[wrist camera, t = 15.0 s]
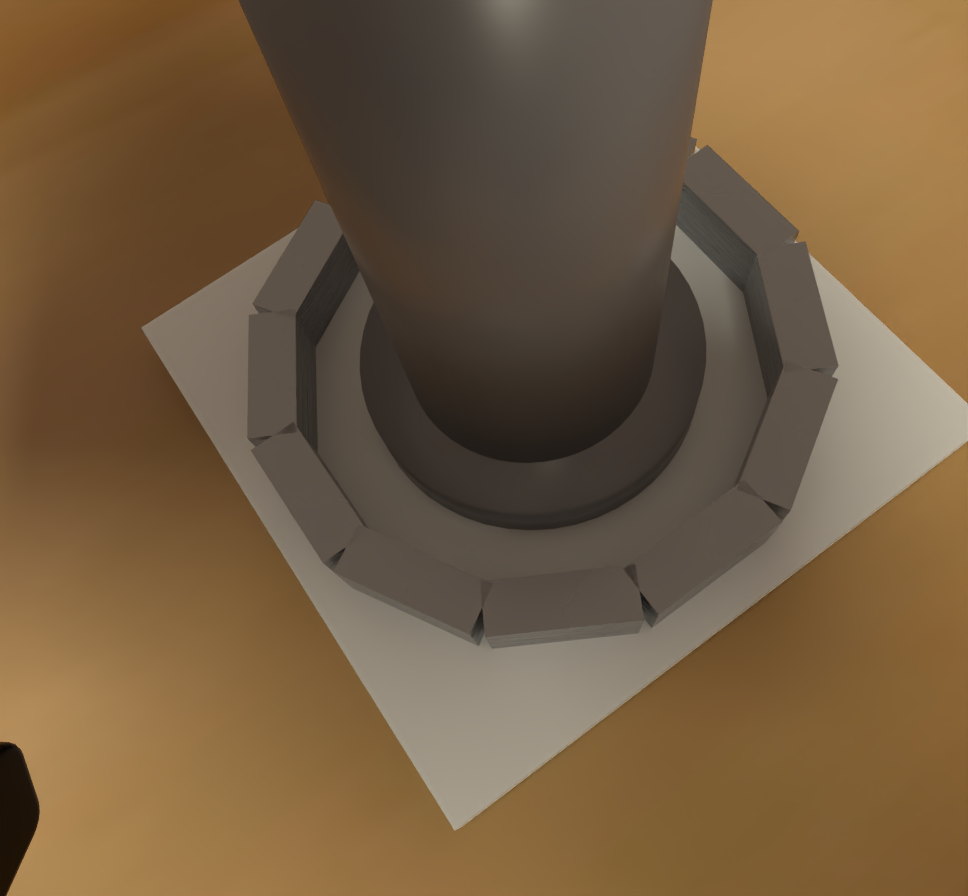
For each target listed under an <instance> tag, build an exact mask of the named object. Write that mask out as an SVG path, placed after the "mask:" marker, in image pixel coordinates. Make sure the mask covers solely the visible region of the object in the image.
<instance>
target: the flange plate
mask: <svg viewBox="0 0 968 896" xmlns="http://www.w3.org/2000/svg"><path fill="white" fill-rule="evenodd" d="M696 141H697V139H695V138H691V137H690V142H689V148H688V155H687V161H686V167H685V173H684V179H683V185H682V192H681V198H680V204H679V210H678V216H677V222H676V229H675V235H674V241H673V247H672V253H671V260H672V261H673V262H674V263H675V265H676V266H677V267H678V268H679V270H680V271H681V273H682V274H683V276H684V277H685V279H686V281H687V282H688V284H689V285H690V288H691V290H692V292H693V294H694V296H695V298H696V301H697V303H698V306H699V309H700V313H701V316H702V319H703V323H704V330H705V337H706V367H705V374H704V380H703V385H702V389H701V392H700V396H699V399H698V402H697V406H696V409H695V412H694V415H693V418H692V422H691V425H690V428H689V430H688V432H687V434H686V436H685V439H684V441H683V443H682V445H681V447H680V448H679V450H678V451H677V453H676V454H675V456H674V457H673V459H672V460H671V462H670V463H669V465H668V466H667V467H666V468H665V469H664V470H663V472H662V473H661V474H660V475H659V476H658V477H657V478H656V479H655V480H654V482H652V483H651V484H650V485H649V486H648V487H646V488H645V489H644V490H643V491H642V492H641V493H639V494H638V495H637V496H636V497H634V498H632V499H631V500H629V501H628V502H626V503H625V504H623V505H621V506H620V507H618V508H616V509H614V510H612V511H610V512H608V513H606V514H604V515H602V516H599V517H597V518H594V519H591V520H588V521H585V522H582V523H579V524H576V525H571V526H565V527H560V528H555V529H542V530H520V529H507V528H501V527H496V526H491V525H486V524H483V523H480V522H477V521H474V520H471V519H468V518H465V517H463V516H461V515H459V514H457V513H455V512H453V511H451V510H449V509H447V508H445V507H443V506H442V505H440V504H439V503H437V502H436V501H434V500H433V499H431V498H430V497H428V496H427V495H426V494H425V493H424V492H423V491H422V490H420V489H419V488H418V487H417V486H416V485H415V484H414V483H413V482H412V481H411V480H410V479H409V478H408V477H407V475H406V474H405V473H404V472H403V471H402V470H401V468H400V467H399V466H398V464H397V463H396V461H395V459H394V458H393V456H392V455H391V453H390V451H389V450H388V448H387V446H386V445H385V443H384V441H383V440H382V438H381V436H380V435H379V433H378V432H377V430H376V428H375V426H374V424H373V421H372V419H371V417H370V414H369V412H368V410H367V406H366V403H365V399H364V395H363V392H362V386H361V377H360V348H361V342H362V336H363V330H364V327H365V324H366V321H367V317H368V314H369V311H370V309H371V307H372V305H373V303H374V302H373V299H372V297H371V295H370V293H369V290H368V288H367V286H366V284H365V281H364V279H363V277H362V275H361V273H360V270H359V268H358V266H357V264H356V261H355V259H354V257H353V255H352V252H351V250H350V248H349V246H348V243H347V241H346V239H345V237H344V235H343V232H342V230H341V228H340V226H339V223H338V221H337V219H336V217H335V214H334V212H333V210H332V208H331V205H330V203H329V201H328V203H329V204H326V203H323V202H320V201H317V200H315V201H314V203H313V204H312V206H311V208H310V209H309V211H308V212H307V214H306V216H305V217H304V219H303V221H302V222H301V224H300V226H299V227H298V228H297V229H296V230H294V231H292V232H291V233H289V234H288V235H286V236H285V237H283V238H281V239H280V240H278V241H277V242H275V243H274V244H272V245H270V246H269V247H267V248H266V249H264V250H262V251H261V252H259V253H258V254H256V255H255V256H253V257H251V258H250V259H248V260H247V261H245V262H244V263H242V264H240V265H239V266H237V267H236V268H234V269H233V270H231V271H229V272H228V273H226V274H225V275H223V276H221V277H220V278H218V279H217V280H215V281H214V282H212V283H210V284H209V285H207V286H206V287H204V288H203V289H201V290H199V291H198V292H196V293H195V294H193V295H192V296H190V297H188V298H187V299H185V300H184V301H182V302H181V303H179V304H177V305H176V306H174V307H173V308H171V309H169V310H168V311H166V312H165V313H163V314H162V315H160V316H158V317H157V318H155V319H154V320H152V321H151V322H149V323H147V324H146V325H144V326H143V327H141V329H142V330H143V332H144V333H145V335H146V337H147V338H148V340H149V341H150V343H151V345H152V346H153V348H154V350H155V351H156V353H157V354H158V356H159V358H160V359H161V361H162V362H163V364H164V366H165V367H166V369H167V370H168V372H169V374H170V375H171V377H172V378H173V380H174V382H175V383H176V385H177V386H178V388H179V390H180V391H181V393H182V394H183V396H184V398H185V399H186V401H187V402H188V404H189V406H190V407H191V409H192V410H193V412H194V414H195V415H196V417H197V418H198V420H199V422H200V423H201V425H202V426H203V428H204V430H205V431H206V433H207V434H208V436H209V438H210V439H211V441H212V442H213V444H214V446H215V447H216V449H217V450H218V452H219V454H220V455H221V457H222V458H223V460H224V462H225V463H226V465H227V467H228V468H229V470H230V471H231V473H232V475H233V476H234V478H235V479H236V481H237V483H238V484H239V486H240V487H241V489H242V491H243V492H244V494H245V495H246V497H247V499H248V500H249V502H250V503H251V505H252V507H253V508H254V510H255V511H256V513H257V515H258V516H259V518H260V519H261V521H262V523H263V524H264V526H265V527H266V529H267V531H268V532H269V534H270V535H271V537H272V539H273V540H274V542H275V543H276V545H277V547H278V548H279V550H280V551H281V553H282V555H283V556H284V558H285V559H286V561H287V563H288V564H289V566H290V567H291V569H292V571H293V572H294V574H295V575H296V577H297V579H298V580H299V582H300V584H301V585H302V587H303V588H304V590H305V592H306V593H307V595H308V596H309V598H310V600H311V601H312V603H313V604H314V606H315V608H316V609H317V611H318V612H319V614H320V616H321V617H322V619H323V620H324V622H325V624H326V625H327V627H328V628H329V630H330V632H331V633H332V635H333V636H334V638H335V640H336V641H337V643H338V644H339V646H340V648H341V649H342V651H343V652H344V654H345V656H346V657H347V659H348V660H349V662H350V664H351V665H352V667H353V668H354V670H355V672H356V673H357V675H358V676H359V678H360V680H361V681H362V683H363V684H364V686H365V688H366V689H367V691H368V692H369V694H370V696H371V697H372V699H373V701H374V702H375V704H376V705H377V707H378V709H379V710H380V712H381V713H382V715H383V717H384V718H385V720H386V721H387V723H388V725H389V726H390V728H391V729H392V731H393V733H394V734H395V736H396V737H397V739H398V741H399V742H400V744H401V745H402V747H403V749H404V750H405V752H406V753H407V755H408V757H409V758H410V760H411V761H412V763H413V765H414V766H415V768H416V769H417V771H418V773H419V774H420V776H421V777H422V779H423V781H424V782H425V784H426V785H427V787H428V789H429V790H430V792H431V793H432V795H433V797H434V798H435V800H436V801H437V803H438V805H439V806H440V808H441V809H442V811H443V813H444V814H445V816H446V818H447V819H448V821H449V822H450V824H451V826H452V827H453V829H454V830H457V829H459V828H461V827H463V826H464V825H465V824H467V823H468V822H469V821H471V820H472V819H473V818H474V817H476V816H477V815H478V814H480V813H481V812H482V811H484V810H485V809H486V808H488V807H489V806H490V805H492V804H493V803H494V802H495V801H497V800H498V799H499V798H501V797H502V796H503V795H505V794H506V793H507V792H509V791H510V790H511V789H513V788H514V787H515V786H516V785H518V784H519V783H520V782H522V781H523V780H524V779H526V778H527V777H528V776H530V775H531V774H532V773H534V772H535V771H536V770H537V769H539V768H540V767H541V766H543V765H544V764H545V763H547V762H548V761H549V760H551V759H552V758H553V757H554V756H556V755H557V754H558V753H560V752H561V751H562V750H564V749H565V748H566V747H568V746H569V745H570V744H572V743H573V742H574V741H575V740H577V739H578V738H579V737H581V736H582V735H583V734H585V733H586V732H587V731H589V730H590V729H591V728H593V727H594V726H595V725H596V724H598V723H599V722H600V721H602V720H603V719H604V718H606V717H607V716H608V715H610V714H611V713H612V712H614V711H615V710H616V709H617V708H619V707H620V706H621V705H623V704H624V703H625V702H627V701H628V700H629V699H631V698H632V697H633V696H635V695H636V694H637V693H638V692H640V691H641V690H642V689H644V688H645V687H646V686H648V685H649V684H650V683H652V682H653V681H654V680H656V679H657V678H658V677H659V676H661V675H662V674H663V673H665V672H666V671H667V670H669V669H670V668H671V667H673V666H674V665H675V664H677V663H678V662H679V661H680V660H682V659H683V658H684V657H686V656H687V655H688V654H690V653H691V652H692V651H694V650H695V649H696V648H697V647H699V646H700V645H701V644H703V643H704V642H705V641H707V640H708V639H709V638H711V637H712V636H713V635H715V634H716V633H717V632H718V631H720V630H721V629H722V628H724V627H725V626H726V625H728V624H729V623H730V622H732V621H733V620H734V619H736V618H737V617H738V616H739V615H741V614H742V613H743V612H745V611H746V610H747V609H749V608H750V607H751V606H753V605H754V604H755V603H757V602H758V601H759V600H760V599H762V598H763V597H764V596H766V595H767V594H768V593H770V592H771V591H772V590H774V589H775V588H776V587H778V586H779V585H780V584H781V583H783V582H784V581H785V580H787V579H788V578H789V577H791V576H792V575H793V574H795V573H796V572H797V571H799V570H800V569H801V568H802V567H804V566H805V565H806V564H808V563H809V562H810V561H812V560H813V559H814V558H816V557H817V556H818V555H819V554H821V553H822V552H823V551H825V550H826V549H827V548H829V547H830V546H831V545H833V544H834V543H835V542H837V541H838V540H839V539H840V538H842V537H843V536H844V535H846V534H847V533H848V532H850V531H851V530H852V529H854V528H855V527H856V526H858V525H859V524H860V523H861V522H863V521H864V520H865V519H867V518H868V517H869V516H871V515H872V514H873V513H875V512H876V511H877V510H879V509H880V508H881V507H882V506H884V505H885V504H886V503H888V502H889V501H890V500H892V499H893V498H894V497H896V496H897V495H898V494H900V493H901V492H902V491H903V490H905V489H906V488H907V487H909V486H910V485H911V484H913V483H914V482H915V481H917V480H918V479H919V478H921V477H922V476H923V475H924V474H926V473H927V472H928V471H930V470H931V469H932V468H934V467H935V466H936V465H938V464H939V463H940V462H942V461H943V460H944V459H945V458H947V457H948V456H949V455H951V454H952V453H953V452H955V451H956V450H957V449H959V448H960V447H961V446H962V445H964V444H965V443H966V442H968V404H967V403H966V402H965V401H964V400H963V399H962V398H961V397H960V396H959V395H958V394H957V393H956V392H955V391H954V390H953V389H952V388H951V387H950V386H948V385H947V384H946V383H945V382H944V381H943V380H942V379H941V378H940V377H939V376H938V375H937V374H936V373H935V372H934V371H933V370H932V369H931V368H929V367H928V366H927V365H926V364H925V363H924V362H923V361H922V360H921V359H920V358H919V357H918V356H917V355H916V354H915V353H914V352H913V351H912V350H910V349H909V348H908V347H907V346H906V345H905V344H904V343H903V342H902V341H901V340H900V339H899V338H898V337H897V336H896V335H895V334H894V333H893V332H891V331H890V330H889V329H888V328H887V327H886V326H885V325H884V324H883V323H882V322H881V321H880V320H879V319H878V318H877V317H876V316H875V315H874V314H872V313H871V312H870V311H869V310H868V309H867V308H866V307H865V306H864V305H863V304H862V303H861V302H860V301H859V300H858V299H857V298H856V297H855V296H853V295H852V294H851V293H850V292H849V291H848V290H847V289H846V288H845V287H844V286H843V285H842V284H841V283H840V282H839V281H838V280H837V279H836V278H835V277H833V276H832V275H831V274H830V273H829V272H828V271H827V270H826V269H825V268H824V267H823V266H822V265H821V264H820V263H819V262H818V261H817V260H816V259H814V258H813V257H812V256H811V255H810V254H809V253H808V249H807V245H806V242H799V243H798V242H797V241H795V240H796V238H797V235H798V233H799V231H798V230H797V229H796V228H795V227H794V226H793V225H792V224H791V223H790V222H789V221H788V220H787V219H786V218H785V217H783V216H782V215H781V214H780V213H779V212H778V211H777V210H776V209H775V208H774V207H773V206H772V205H771V204H770V203H769V202H767V201H766V200H765V199H764V198H763V197H762V196H761V195H760V194H759V193H758V192H757V191H756V190H755V189H754V188H753V187H752V186H750V185H749V184H748V183H747V182H746V181H745V180H744V179H743V178H742V177H741V176H740V175H739V174H738V173H737V172H736V171H735V170H733V169H732V168H731V167H730V166H729V165H728V164H727V163H726V162H725V161H724V160H723V159H722V158H721V157H720V156H719V155H718V154H716V153H715V152H714V151H713V150H712V149H711V148H710V147H709V146H708V145H707V146H705V147H704V148H702V149H701V150H699V149H698V148H697V147H696ZM324 193H325V192H324ZM325 196H326V194H325ZM326 198H327V197H326ZM327 200H328V199H327Z"/></svg>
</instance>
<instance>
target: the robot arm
mask: <svg viewBox="0 0 968 896" xmlns="http://www.w3.org/2000/svg"><path fill="white" fill-rule="evenodd" d="M39 813H40V810H39V801H38V798H37V795H36V792H35V789H34V786H33V783H32V780H31V777H30V774H29V771H28V768H27V765H26V762H25V759H24V756H23V753H22V751H21V750H20V748H18V747H17V746H16V745H15V744H13V743H10V742H0V896H6V895H7V893H8V891H9V888H10V886H11V884H12V882H13V880H14V877H15V875H16V873H17V871H18V869H19V866H20V864H21V862H22V860H23V858H24V856H25V853H26V851H27V849H28V847H29V845H30V842H31V840H32V838H33V836H34V834H35V831H36V828H37V824H38V821H39Z"/></svg>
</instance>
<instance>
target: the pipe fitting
mask: <svg viewBox="0 0 968 896" xmlns="http://www.w3.org/2000/svg"><path fill="white" fill-rule="evenodd" d="M712 1H713V0H239V2H240V4H241V7H242V9H243V11H244V13H245V16H246V18H247V20H248V22H249V25H250V27H251V29H252V31H253V33H254V36H255V38H256V40H257V42H258V45H259V47H260V49H261V51H262V54H263V56H264V58H265V60H266V62H267V65H268V67H269V69H270V71H271V74H272V76H273V78H274V80H275V83H276V85H277V87H278V89H279V92H280V94H281V96H282V98H283V100H284V103H285V105H286V107H287V109H288V112H289V114H290V116H291V118H292V121H293V123H294V125H295V127H296V130H297V132H298V134H299V136H300V138H301V141H302V143H303V145H304V147H305V150H306V152H307V154H308V156H309V159H310V161H311V163H312V165H313V167H314V170H315V172H316V174H317V176H318V179H319V181H320V183H321V185H322V188H323V190H324V192H325V194H326V197H327V199H328V201H329V203H330V205H331V208H332V210H333V212H334V214H335V217H336V219H337V221H338V223H339V226H340V228H341V230H342V232H343V235H344V237H345V239H346V241H347V243H348V246H349V248H350V250H351V252H352V255H353V257H354V259H355V261H356V264H357V266H358V268H359V270H360V273H361V275H362V277H363V279H364V281H365V284H366V286H367V288H368V290H369V293H370V295H371V297H372V299H373V302H374V303H373V305H372V307H371V309H370V311H369V314H368V317H367V321H366V324H365V327H364V330H363V336H362V342H361V348H360V377H361V386H362V392H363V395H364V399H365V403H366V406H367V410H368V412H369V414H370V417H371V419H372V421H373V424H374V426H375V428H376V430H377V432H378V433H379V435H380V436H381V438H382V440H383V441H384V443H385V445H386V446H387V448H388V450H389V451H390V453H391V455H392V456H393V458H394V459H395V461H396V463H397V464H398V466H399V467H400V468H401V470H402V471H403V472H404V473H405V474H406V475H407V477H408V478H409V479H410V480H411V481H412V482H413V483H414V484H415V485H416V486H417V487H418V488H419V489H420V490H422V491H423V492H424V493H425V494H426V495H427V496H428V497H430V498H431V499H433V500H434V501H436V502H437V503H439V504H440V505H442V506H443V507H445V508H447V509H449V510H451V511H453V512H455V513H457V514H459V515H461V516H463V517H465V518H468V519H471V520H474V521H477V522H480V523H483V524H486V525H491V526H496V527H501V528H507V529H520V530H542V529H555V528H560V527H565V526H571V525H576V524H579V523H582V522H585V521H588V520H591V519H594V518H597V517H599V516H602V515H604V514H606V513H608V512H610V511H612V510H614V509H616V508H618V507H620V506H621V505H623V504H625V503H626V502H628V501H629V500H631V499H632V498H634V497H636V496H637V495H638V494H639V493H641V492H642V491H643V490H644V489H645V488H646V487H648V486H649V485H650V484H651V483H652V482H654V480H655V479H656V478H657V477H658V476H659V475H660V474H661V473H662V472H663V470H664V469H665V468H666V467H667V466H668V465H669V463H670V462H671V460H672V459H673V457H674V456H675V454H676V453H677V451H678V450H679V448H680V447H681V445H682V443H683V441H684V439H685V436H686V434H687V432H688V430H689V428H690V425H691V422H692V418H693V415H694V412H695V409H696V406H697V402H698V399H699V396H700V392H701V389H702V385H703V380H704V374H705V367H706V337H705V330H704V323H703V319H702V316H701V313H700V309H699V306H698V303H697V301H696V298H695V296H694V294H693V292H692V290H691V288H690V285H689V284H688V282H687V281H686V279H685V277H684V276H683V274H682V273H681V271H680V270H679V268H678V267H677V266H676V265H675V263H674V262H673V261H672V260H671V253H672V247H673V241H674V235H675V229H676V222H677V216H678V210H679V204H680V198H681V192H682V185H683V179H684V173H685V167H686V161H687V155H688V148H689V142H690V136H691V130H692V124H693V118H694V112H695V105H696V99H697V93H698V87H699V81H700V75H701V68H702V62H703V56H704V50H705V44H706V38H707V31H708V25H709V19H710V13H711V7H712Z"/></svg>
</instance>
